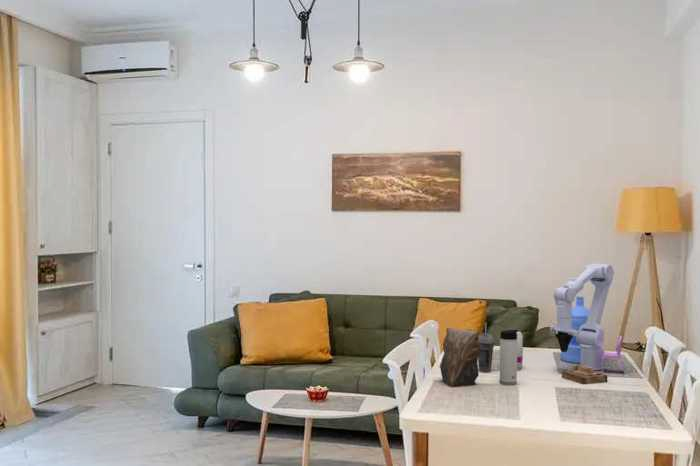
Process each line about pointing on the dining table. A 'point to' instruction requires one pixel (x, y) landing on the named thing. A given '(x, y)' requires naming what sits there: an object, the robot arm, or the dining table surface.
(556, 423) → the dining table surface
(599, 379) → the bay
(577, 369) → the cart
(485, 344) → the beverage cup
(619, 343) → the toy chair
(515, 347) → the travel mug
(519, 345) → the supplement can
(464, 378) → the brown rough lump
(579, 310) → the water jug
